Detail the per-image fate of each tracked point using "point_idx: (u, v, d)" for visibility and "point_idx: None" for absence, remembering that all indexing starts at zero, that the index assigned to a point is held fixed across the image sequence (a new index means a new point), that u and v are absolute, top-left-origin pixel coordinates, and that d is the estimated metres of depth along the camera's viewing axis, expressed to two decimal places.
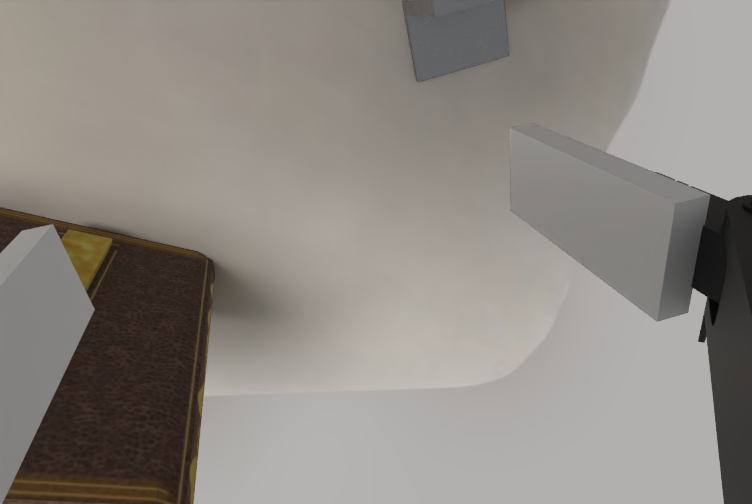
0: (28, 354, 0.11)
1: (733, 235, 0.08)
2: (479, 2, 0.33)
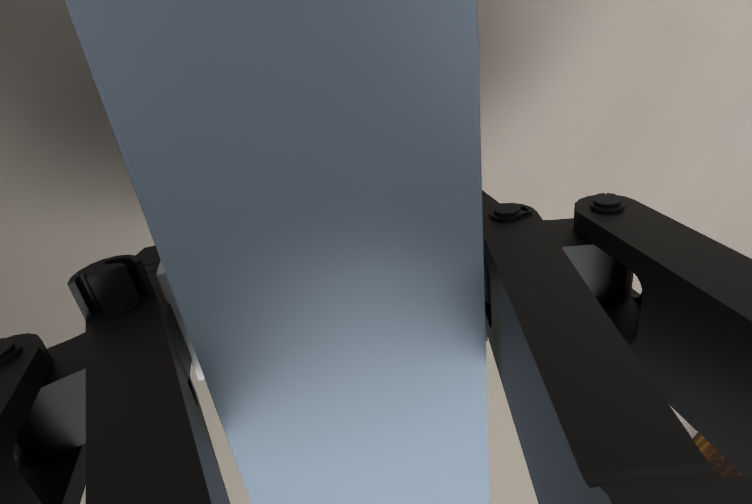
0: None
1: (488, 245, 0.09)
2: None
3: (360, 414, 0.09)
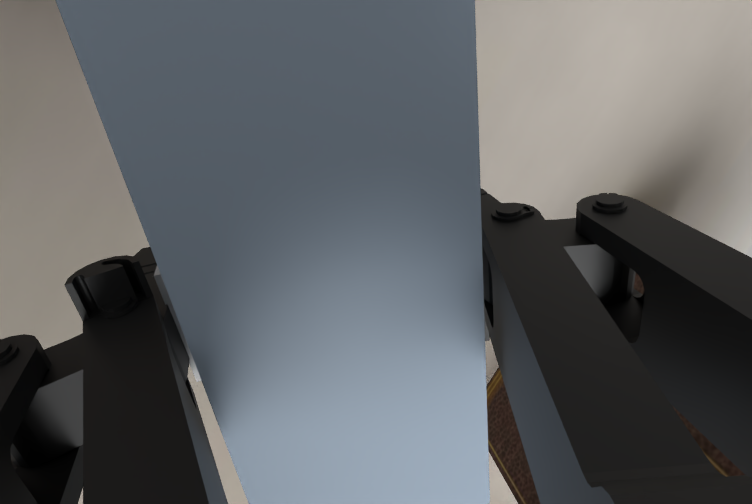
0: None
1: (490, 245, 0.09)
2: None
3: (359, 418, 0.09)
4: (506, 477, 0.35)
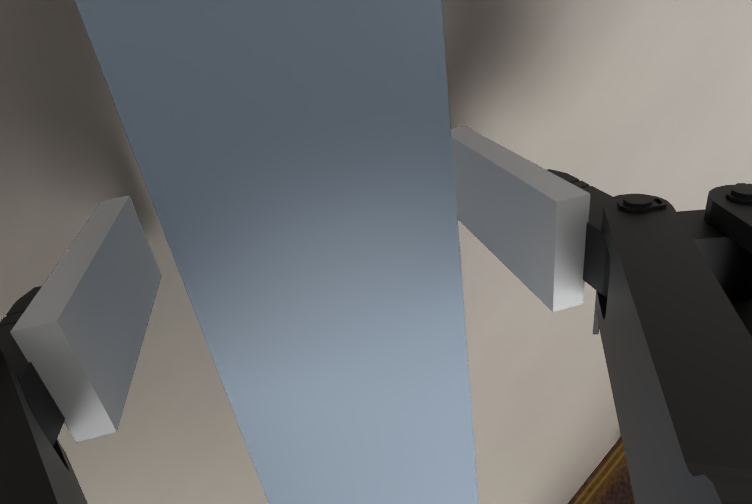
0: (123, 305, 0.12)
1: (612, 234, 0.09)
2: None
3: (351, 381, 0.10)
4: None
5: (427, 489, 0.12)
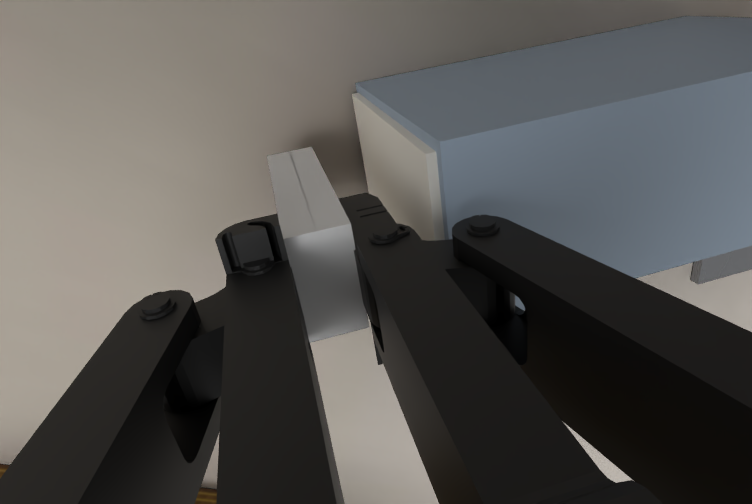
0: None
1: (370, 271, 0.09)
2: None
3: (654, 189, 0.13)
4: None
5: None
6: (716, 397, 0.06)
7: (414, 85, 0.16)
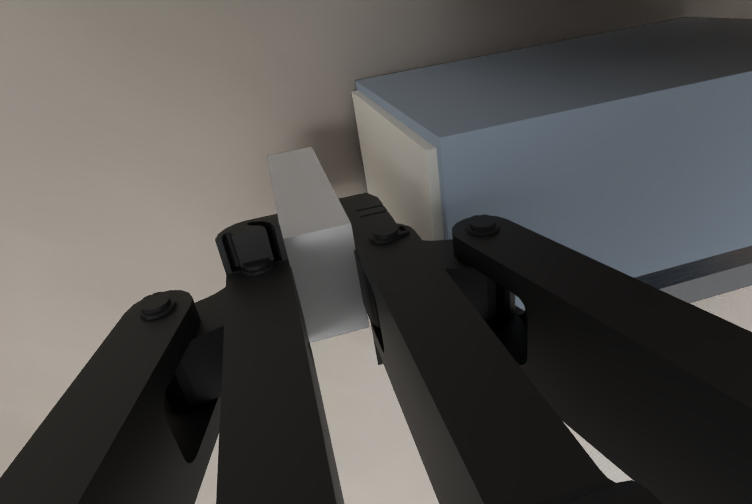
0: None
1: (370, 270, 0.09)
2: None
3: (653, 188, 0.13)
4: None
5: None
6: (715, 397, 0.06)
7: (414, 83, 0.16)
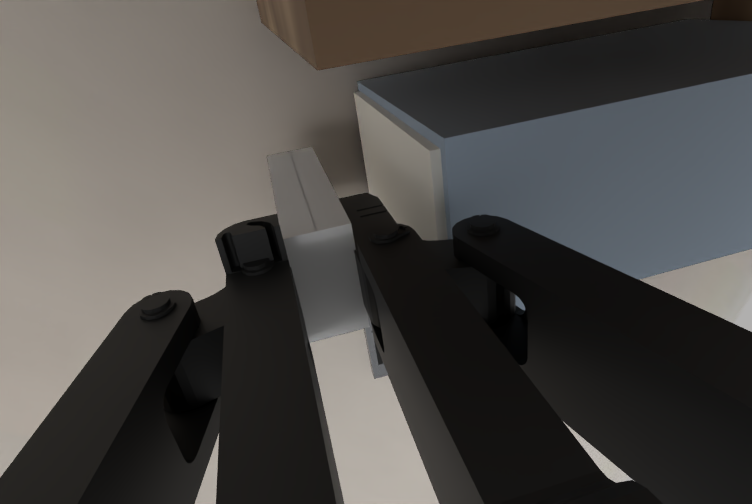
0: None
1: (370, 270, 0.09)
2: None
3: (658, 189, 0.12)
4: None
5: None
6: (714, 396, 0.06)
7: (417, 84, 0.16)
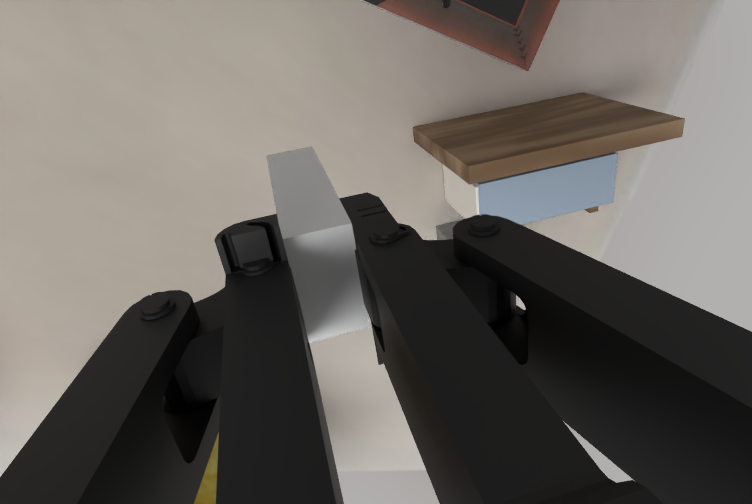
0: None
1: (371, 270, 0.09)
2: None
3: (534, 196, 0.47)
4: None
5: None
6: (716, 396, 0.06)
7: None
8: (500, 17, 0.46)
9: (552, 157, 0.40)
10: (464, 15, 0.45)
